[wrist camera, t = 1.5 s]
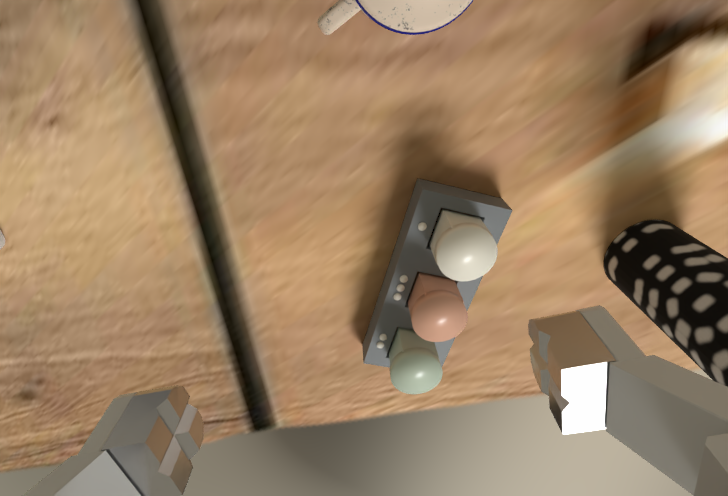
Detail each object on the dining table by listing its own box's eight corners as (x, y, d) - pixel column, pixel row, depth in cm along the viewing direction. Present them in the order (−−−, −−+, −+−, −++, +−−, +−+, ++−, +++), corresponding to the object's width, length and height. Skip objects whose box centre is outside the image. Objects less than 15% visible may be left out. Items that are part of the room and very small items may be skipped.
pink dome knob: (445, 315, 46) (456, 346, 42) (399, 306, 45) (405, 336, 41) (462, 274, 44) (476, 302, 39) (414, 264, 43) (422, 292, 39)
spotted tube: (636, 298, 49) (800, 455, 32) (587, 264, 47) (736, 412, 29) (698, 245, 46) (917, 384, 29) (649, 204, 44) (857, 330, 26)
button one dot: (469, 259, 43) (484, 286, 39) (420, 248, 42) (428, 275, 38) (489, 212, 41) (507, 235, 36) (437, 200, 40) (449, 222, 35)
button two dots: (424, 364, 49) (432, 397, 45) (380, 356, 48) (384, 389, 44) (439, 328, 47) (449, 360, 42) (393, 320, 46) (399, 351, 42)
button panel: (433, 357, 52) (438, 376, 49) (362, 345, 51) (363, 364, 48) (501, 198, 43) (512, 211, 40) (417, 178, 41) (422, 189, 39)
